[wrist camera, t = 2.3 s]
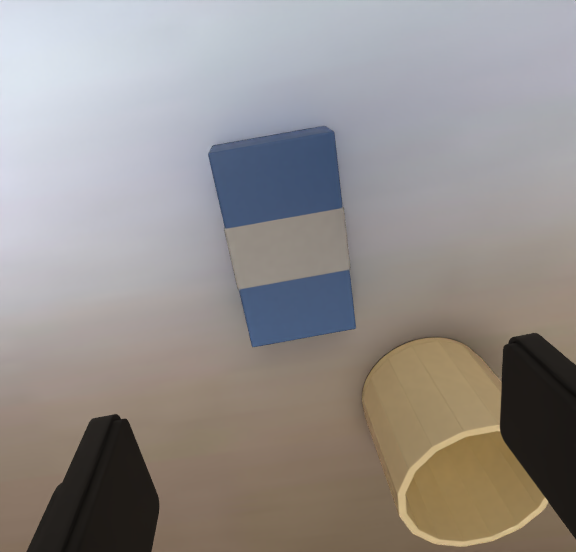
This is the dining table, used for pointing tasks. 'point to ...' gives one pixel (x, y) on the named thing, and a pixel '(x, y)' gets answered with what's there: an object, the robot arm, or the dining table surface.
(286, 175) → the block
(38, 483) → the dining table surface
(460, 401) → the beige cup
